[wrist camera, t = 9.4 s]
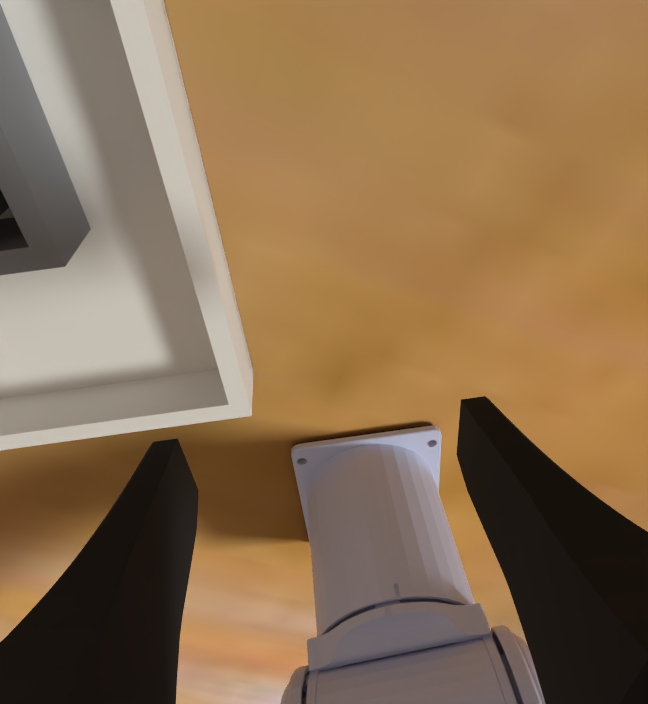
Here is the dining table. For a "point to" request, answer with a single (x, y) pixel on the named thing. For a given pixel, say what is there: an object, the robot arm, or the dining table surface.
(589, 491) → the robot arm
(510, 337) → the dining table surface
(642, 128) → the dining table surface
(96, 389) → the walled box
